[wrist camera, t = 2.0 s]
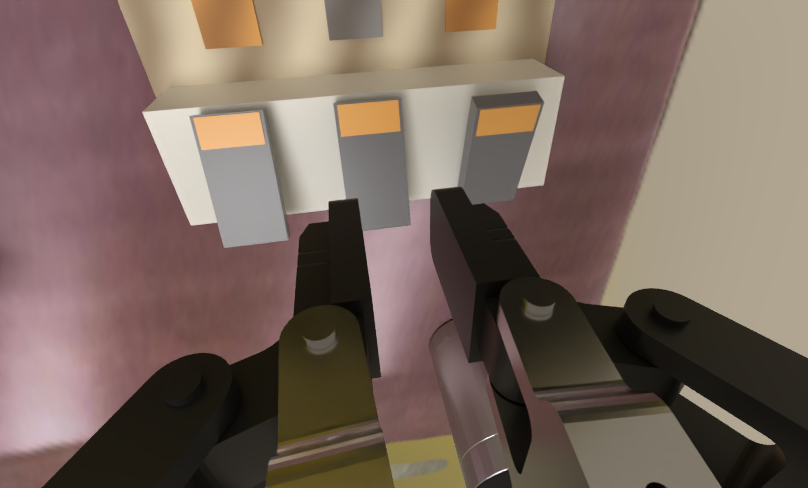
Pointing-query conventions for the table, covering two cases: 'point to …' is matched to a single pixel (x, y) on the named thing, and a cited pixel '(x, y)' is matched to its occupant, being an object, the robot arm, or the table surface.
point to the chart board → (327, 36)
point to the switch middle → (374, 160)
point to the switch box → (317, 134)
